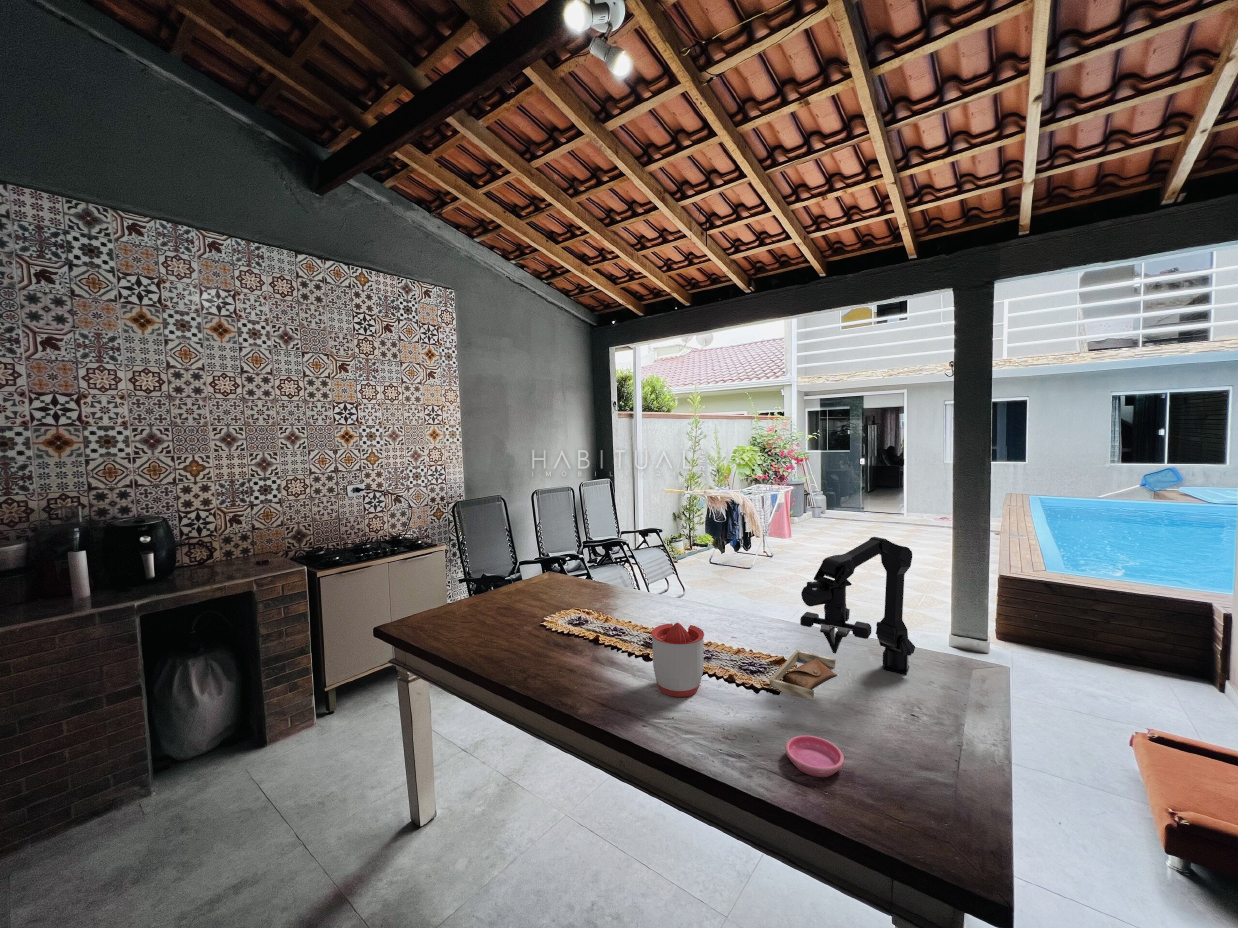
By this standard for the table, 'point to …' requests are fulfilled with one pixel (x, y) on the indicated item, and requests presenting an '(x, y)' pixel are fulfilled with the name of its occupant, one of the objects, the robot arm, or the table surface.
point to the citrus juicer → (678, 658)
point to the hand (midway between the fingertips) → (834, 652)
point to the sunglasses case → (809, 675)
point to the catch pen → (788, 664)
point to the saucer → (814, 755)
